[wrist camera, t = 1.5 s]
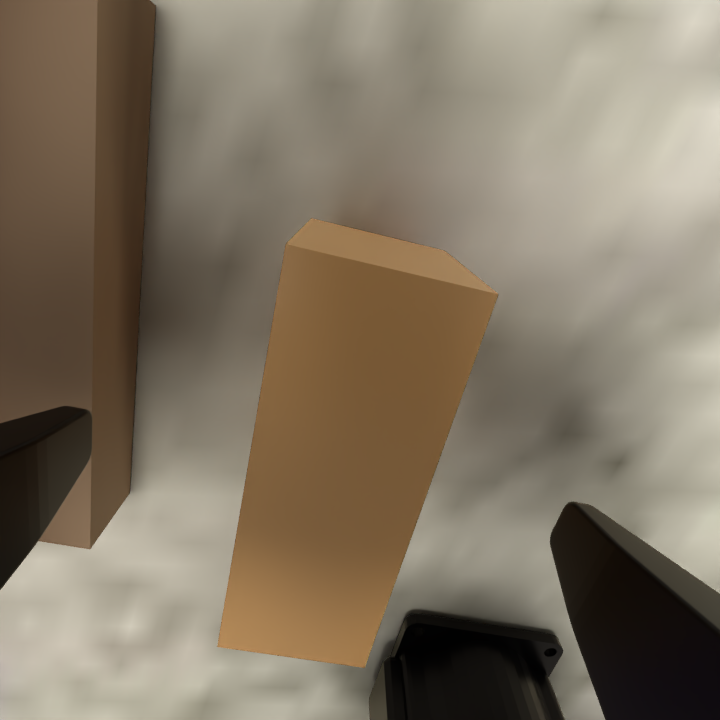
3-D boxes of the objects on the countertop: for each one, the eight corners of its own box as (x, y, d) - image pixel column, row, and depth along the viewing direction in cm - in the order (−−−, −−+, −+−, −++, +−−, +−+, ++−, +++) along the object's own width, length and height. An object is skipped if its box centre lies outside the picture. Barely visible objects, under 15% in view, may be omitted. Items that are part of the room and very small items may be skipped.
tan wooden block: (427, 236, 12) (498, 293, 6) (360, 473, 15) (364, 667, 9) (319, 210, 12) (285, 244, 6) (272, 456, 15) (217, 646, 9)
